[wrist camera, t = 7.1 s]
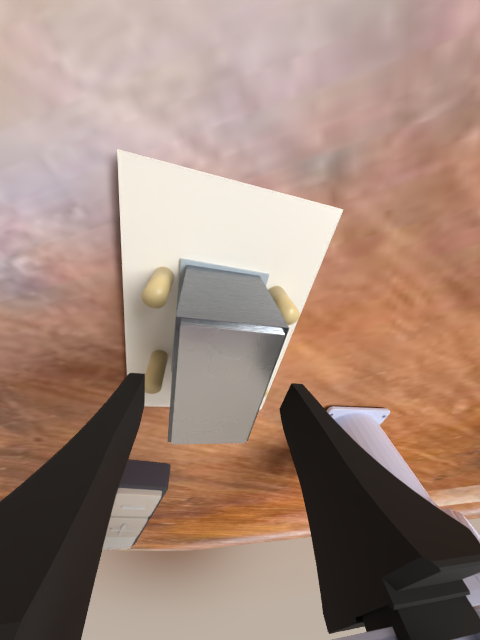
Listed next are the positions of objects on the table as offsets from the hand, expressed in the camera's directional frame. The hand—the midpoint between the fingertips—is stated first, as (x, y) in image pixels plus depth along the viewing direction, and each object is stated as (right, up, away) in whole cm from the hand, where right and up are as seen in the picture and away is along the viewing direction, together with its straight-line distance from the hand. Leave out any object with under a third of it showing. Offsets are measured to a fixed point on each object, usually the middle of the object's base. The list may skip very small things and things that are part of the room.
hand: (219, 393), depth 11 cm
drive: (-1, +3, +5) cm, 6 cm away
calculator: (-16, -17, +17) cm, 29 cm away
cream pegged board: (-1, +4, +6) cm, 7 cm away
